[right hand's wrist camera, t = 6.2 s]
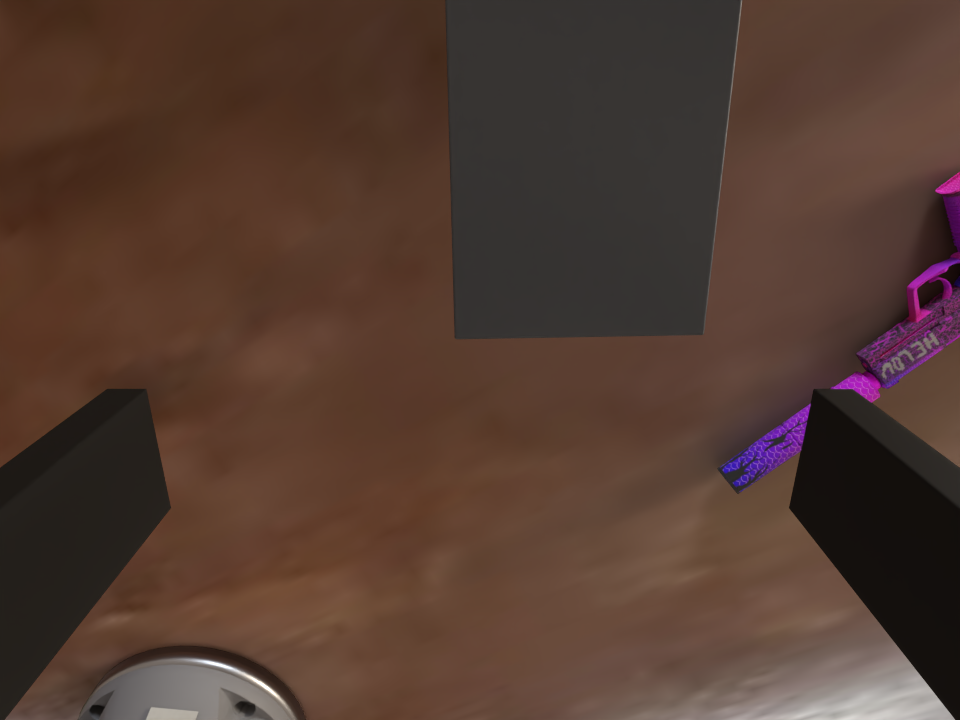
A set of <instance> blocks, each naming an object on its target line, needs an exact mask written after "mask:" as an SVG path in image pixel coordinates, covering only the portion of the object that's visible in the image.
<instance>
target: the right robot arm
mask: <svg viewBox="0 0 960 720" xmlns="http://www.w3.org/2000/svg"><path fill="white" fill-rule="evenodd" d="M170 508H171V506H170V501H169V497H168V492H167V487H166V482H165V477H164V473H163V468H162V463H161V458H160V453H159V448H158V444H157V439H156V434H155V429H154V424H153V420H152V415H151V410H150V405H149V400H148V395H147V391H146V389H107V390H105V391H104V392H102V393H101V394H100V395H98V396H97V397H96V398H94V399H93V400H92V401H90V402H89V403H88V404H86V405H85V406H83V407H82V408H81V409H79V410H78V411H77V412H75V413H74V414H73V415H71V416H70V417H69V418H67V419H66V420H64V421H63V422H62V423H60V424H59V425H58V426H56V427H55V428H54V429H52V430H51V431H50V432H48V433H47V434H45V435H44V436H43V437H41V438H40V439H39V440H37V441H36V442H35V443H33V444H32V445H31V446H29V447H28V448H26V449H25V450H24V451H22V452H21V453H20V454H18V455H17V456H16V457H14V458H13V459H12V460H10V461H9V462H7V463H6V464H5V465H3V466H2V467H1V468H0V720H5V718H6V717H7V716H8V715H9V713H10V712H11V711H12V710H13V708H14V707H15V706H16V704H17V703H18V702H19V701H20V699H21V698H22V697H23V696H24V694H25V693H26V692H27V690H28V689H29V688H30V687H31V685H32V684H33V683H34V682H35V680H36V679H37V678H38V676H39V675H40V674H41V673H42V671H43V670H44V669H45V668H46V666H47V665H48V664H49V662H50V661H51V660H52V659H53V657H54V656H55V655H56V654H57V652H58V651H59V650H60V648H61V647H62V646H63V645H64V643H65V642H66V641H67V640H68V638H69V637H70V636H71V634H72V633H73V632H74V631H75V629H76V628H77V627H78V626H79V624H80V623H81V622H82V620H83V619H84V618H85V617H86V615H87V614H88V613H89V612H90V610H91V609H92V608H93V606H94V605H95V604H96V603H97V601H98V600H99V599H100V598H101V596H102V595H103V594H104V592H105V591H106V590H107V589H108V587H109V586H110V585H111V584H112V582H113V581H114V580H115V578H116V577H117V576H118V575H119V573H120V572H121V571H122V570H123V568H124V567H125V566H126V564H127V563H128V562H129V561H130V559H131V558H132V557H133V556H134V554H135V553H136V552H137V550H138V549H139V548H140V547H141V545H142V544H143V543H144V542H145V540H146V539H147V538H148V536H149V535H150V534H151V533H152V531H153V530H154V529H155V528H156V526H157V525H158V524H159V522H160V521H161V520H162V519H163V517H164V516H165V515H166V514H167V512H168V511H169V510H170ZM789 508H790V510H791V511H792V512H793V514H794V515H795V516H796V517H797V519H798V520H799V521H800V522H801V524H802V525H803V526H804V528H805V529H806V530H807V531H808V533H809V534H810V535H811V536H812V538H813V539H814V540H815V542H816V543H817V544H818V545H819V547H820V548H821V549H822V550H823V552H824V553H825V554H826V556H827V557H828V558H829V559H830V561H831V562H832V563H833V564H834V566H835V567H836V568H837V570H838V571H839V572H840V573H841V575H842V576H843V577H844V578H845V580H846V581H847V582H848V584H849V585H850V586H851V587H852V589H853V590H854V591H855V592H856V594H857V595H858V596H859V598H860V599H861V600H862V601H863V603H864V604H865V605H866V606H867V608H868V609H869V610H870V612H871V613H872V614H873V615H874V617H875V618H876V619H877V620H878V622H879V623H880V624H881V626H882V627H883V628H884V629H885V631H886V632H887V633H888V634H889V636H890V637H891V638H892V640H893V641H894V642H895V643H896V645H897V646H898V647H899V648H900V650H901V651H902V652H903V654H904V655H905V656H906V657H907V659H908V660H909V661H910V662H911V664H912V665H913V666H914V668H915V669H916V670H917V671H918V673H919V674H920V675H921V676H922V678H923V679H924V680H925V682H926V683H927V684H928V685H929V687H930V688H931V689H932V690H933V692H934V693H935V694H936V696H937V697H938V698H939V699H940V701H941V702H942V703H943V704H944V706H945V707H946V708H947V710H948V711H949V712H950V713H951V715H952V716H953V717H954V718H955V720H960V468H959V467H958V466H957V465H955V464H954V463H953V462H951V461H950V460H948V459H947V458H946V457H944V456H943V455H942V454H940V453H939V452H938V451H936V450H935V449H934V448H932V447H931V446H929V445H928V444H927V443H925V442H924V441H923V440H921V439H920V438H919V437H917V436H916V435H915V434H913V433H912V432H910V431H909V430H908V429H906V428H905V427H904V426H902V425H901V424H900V423H898V422H897V421H896V420H894V419H893V418H891V417H890V416H889V415H887V414H886V413H885V412H883V411H882V410H881V409H879V408H878V407H877V406H875V405H874V404H872V403H871V402H870V401H868V400H867V399H866V398H864V397H863V396H862V395H860V394H859V393H858V392H856V391H855V390H853V389H814V391H813V395H812V400H811V405H810V410H809V415H808V420H807V424H806V429H805V434H804V439H803V444H802V448H801V453H800V458H799V463H798V468H797V473H796V477H795V482H794V487H793V492H792V497H791V501H790V506H789ZM78 720H306V719H305V716H304V713H303V711H302V709H301V707H300V705H299V703H298V701H297V700H296V698H295V697H294V695H293V694H292V693H291V692H290V690H289V689H288V688H287V687H286V686H285V685H284V684H283V683H282V682H281V681H280V680H279V679H278V678H276V677H275V676H274V675H273V674H271V673H270V672H269V671H267V670H266V669H264V668H262V667H261V666H259V665H257V664H255V663H253V662H251V661H249V660H247V659H245V658H243V657H240V656H238V655H235V654H232V653H228V652H225V651H221V650H217V649H212V648H205V647H196V646H173V647H164V648H158V649H153V650H149V651H146V652H143V653H140V654H137V655H135V656H132V657H130V658H128V659H126V660H124V661H123V662H121V663H119V664H118V665H117V666H115V667H114V668H112V669H111V670H110V671H109V672H108V673H107V674H106V675H105V676H104V677H103V678H102V679H101V681H100V682H99V684H98V685H97V687H96V688H95V690H94V691H93V693H92V694H91V696H90V697H89V699H88V700H87V702H86V703H85V705H84V706H83V708H82V710H81V712H80V715H79V718H78Z"/></svg>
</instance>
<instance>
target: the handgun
mask: <svg viewBox="0 0 960 720" xmlns="http://www.w3.org/2000/svg"><path fill="white" fill-rule="evenodd" d="M935 192H936V193H939V194H942V196H943V199H944V203H945V205H944V206H945V207H946V209H945V210H947V212H946V214H948V216H947V217H948V218H949V219H948V221H950V223H949V225H951V226H950V228H951V229H952V230H951V232H953V233H952V234H951V235H952V236H954V237H953V238H952V239H954V241H953V242H954V243H955V244H954V245H955V246H956V247H957V250H958V252H955V253H954V254H952V255H951V256H950V257H951V258H949V259H947V260H945V261H943V262H940V263H937V264H934V265H932V266H930V267H929V268H928V269H927V270H926V271H925V272H923V273H922V274H921V275H920V276H918V277H917V278H916V279H915V280H914V281H912V282H911V283H910V284H909V285H908V286H907V299H908V309H909V316H908V317H907V318H906V319H904V320H903V321H901V322H900V323H898V324H897V325H896V326H894V327H893V328H891V329H890V330H889V331H887V332H886V333H884V334H883V335H881V336H880V337H879V338H877V339H876V340H874V341H873V342H872V343H870V344H869V345H867V346H866V347H865V348H863V349H862V350H860V351H859V352H857V353H856V355H857V357H858V358H859V359H860V361H861V364H862V365H863V367H864V368H865V370H866V372H864V373H863V374H861V373H860V372H855V373H854V374H852V375H851V376H849V377H848V378H846V379H845V380H843V381H842V382H841V383H839V384H838V385H836V386H835V387H831V388H830V389H853V390H855V391H856V392H858V393H859V394H860V395H862V396H863V397H864V398H866V399H867V400H868V401H870V402H871V403H872V402H873V401H875V400H876V399H877V398H879V397H880V393H879V391H878V389H879V388H881V387H883V388H887V389H888V388H890V387H891V386H893V385H895V384H896V383H898V382H899V381H898V380H899V379H900V378H901V377H903V376H904V375H906V374H907V373H909V372H910V371H912V370H913V369H915V368H916V367H918V366H919V365H920V364H922V363H923V362H925V361H926V360H928V359H929V358H931V357H932V356H934V355H935V354H937V353H938V352H939V351H941V350H942V349H944V348H945V347H947V345H948V344H950V343H951V342H953V341H954V340H956V339H957V338H959V337H960V276H959V277H958V278H957V280H956V281H955V283H954V284H952V285H951V284H950V282H949V281H947V280H946V279H944V278H941V277H938V275H940V274H942V273H944V272H946V271H947V270H948V268H949V266H951V265H953V264H956V263H960V172H959V173H957V174H956V175H955V176H953V177H952V178H951V179H949V180H948V181H947V182H945V183H944V184H943V185H941V186H940V187H939V188H937V189H936V191H935ZM935 276H936V277H935ZM938 279H939V280H941V281H942V283H943V285H944V291H942V292H941V293H939V294H938V295H937V296H935V297H934V298H932V299H931V300H930V301H928V303H927V304H925V305H924V306H922V307H921V308H920V307H919V301H918V295H917V289H918V288H919V287H920V286H921V285H922V284H923V283H925V282H926V281H928V280H929V282H928V283H931V282H934V281H936V280H938ZM810 405H811V403H810V404H809V405H808V406H806V407H805V408H803V409H802V410H800V411H799V412H798V413H796V414H795V415H793V416H792V417H790V418H789V419H788V420H786V421H785V422H783V423H782V424H781V425H780V426H777V427H776V428H775V429H773V430H772V431H770V432H769V433H767V434H766V435H765V436H763V437H762V438H760V439H759V440H757V441H756V442H755V443H753V444H752V445H750V446H749V447H747V448H746V449H745V450H743V451H742V452H740V453H739V454H737V455H736V456H735V457H733V458H732V459H730V460H729V461H727V462H726V463H725V464H723V465H722V466H720V467H719V468H717V469H718V470H719V471H720V473H721V474H722V475H723V477H724V478H725V479H726V480H727V482H728V483H729V484H730V485H731V487H732V488H733V489H734V490H735V491H736V493H737V494H739V493H740V492H741V491H743V490H744V489H746V488H747V487H749V486H750V485H752V484H753V483H754V482H756V481H757V480H759V479H760V478H762V477H763V476H765V475H766V474H768V473H769V472H771V471H772V470H774V469H775V468H777V467H778V466H779V465H781V464H782V463H784V462H785V461H787V460H788V459H790V458H791V457H793V456H794V455H796V454H797V453H799V452H800V451H801V448H802V444H803V439H804V434H805V429H806V424H807V420H808V415H809V410H810Z"/></svg>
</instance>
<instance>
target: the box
mask: <svg viewBox="0 0 960 720" xmlns="http://www.w3.org/2000/svg"><path fill="white" fill-rule="evenodd" d="M445 3H446V39H447V75H448V111H449V147H450V183H451V219H452V255H453V291H454V327H455V339H495V338H553V337H611V336H669V335H703V334H704V328H705V319H706V310H707V302H708V293H709V284H710V275H711V267H712V258H713V249H714V241H715V232H716V223H717V215H718V206H719V197H720V188H721V180H722V171H723V162H724V154H725V145H726V136H727V128H728V119H729V110H730V101H731V93H732V84H733V75H734V67H735V58H736V49H737V41H738V32H739V23H740V14H741V6H742V0H445Z"/></svg>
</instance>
